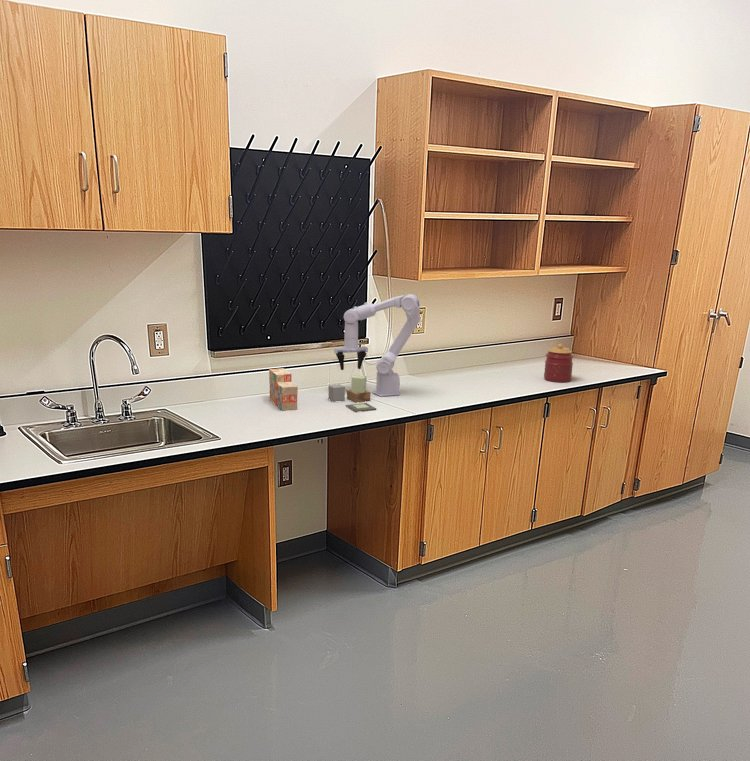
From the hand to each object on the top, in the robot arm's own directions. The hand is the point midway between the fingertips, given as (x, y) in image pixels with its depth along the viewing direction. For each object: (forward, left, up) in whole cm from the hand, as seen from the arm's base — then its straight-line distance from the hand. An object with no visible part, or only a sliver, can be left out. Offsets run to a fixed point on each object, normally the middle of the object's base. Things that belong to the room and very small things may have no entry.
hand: (350, 369), depth 288 cm
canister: (-103, +13, -10) cm, 104 cm away
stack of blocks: (+33, +8, -10) cm, 35 cm away
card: (+7, +26, -10) cm, 29 cm away
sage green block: (+2, +14, -6) cm, 16 cm away
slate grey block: (+11, +11, -10) cm, 19 cm away
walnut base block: (+2, +14, -10) cm, 17 cm away
